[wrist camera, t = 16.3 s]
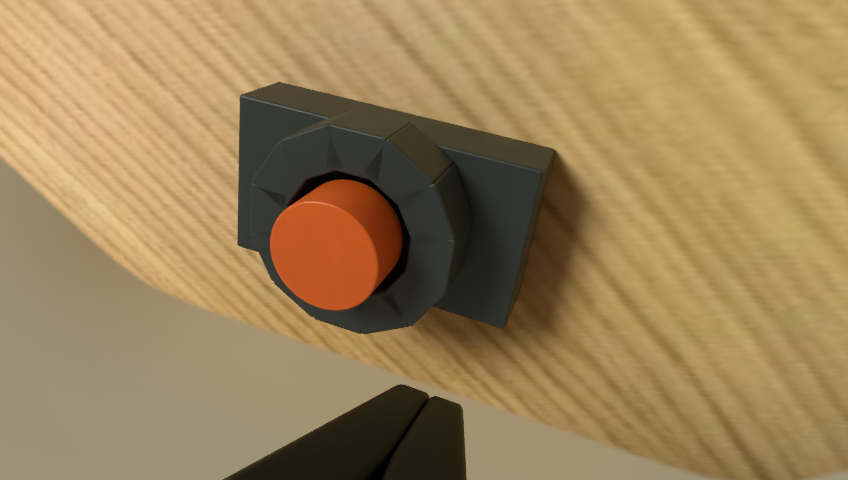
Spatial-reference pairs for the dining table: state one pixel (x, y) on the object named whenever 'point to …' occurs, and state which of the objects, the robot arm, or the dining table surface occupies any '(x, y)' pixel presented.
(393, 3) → the dining table surface
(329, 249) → the button
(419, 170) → the control block
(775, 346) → the dining table surface
